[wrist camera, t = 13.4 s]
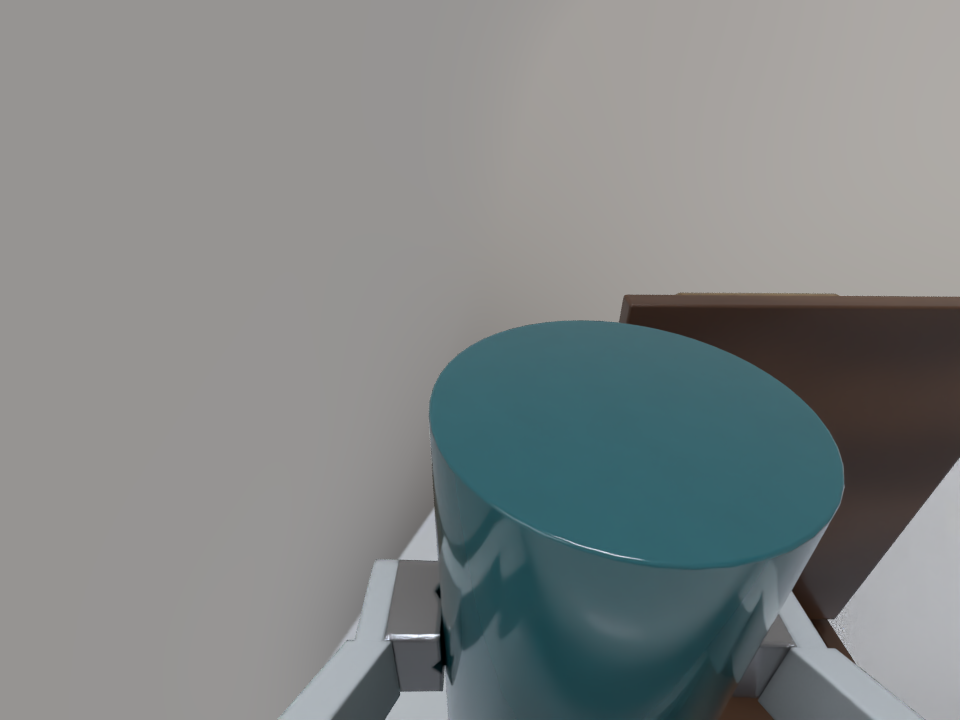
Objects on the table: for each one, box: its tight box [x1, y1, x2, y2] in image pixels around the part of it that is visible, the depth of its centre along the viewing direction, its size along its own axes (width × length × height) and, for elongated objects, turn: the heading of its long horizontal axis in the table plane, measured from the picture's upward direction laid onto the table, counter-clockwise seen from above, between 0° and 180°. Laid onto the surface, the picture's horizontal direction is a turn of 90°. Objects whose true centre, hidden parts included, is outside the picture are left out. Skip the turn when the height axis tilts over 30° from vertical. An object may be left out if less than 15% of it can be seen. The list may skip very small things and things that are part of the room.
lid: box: [619, 293, 960, 619], centre depth 19 cm, size 16×13×5 cm
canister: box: [429, 320, 845, 720], centre depth 10 cm, size 5×5×13 cm
